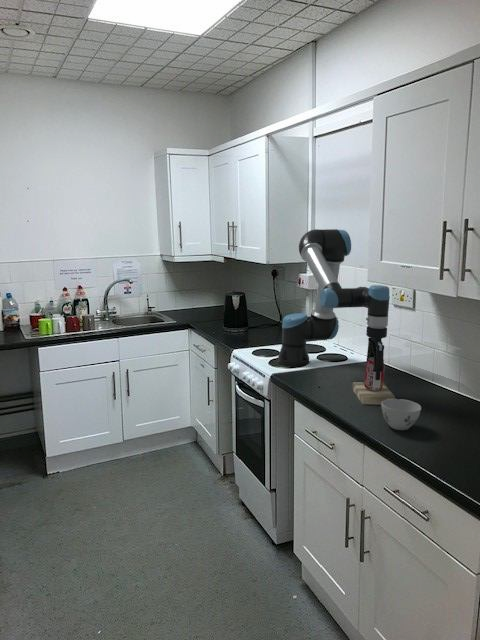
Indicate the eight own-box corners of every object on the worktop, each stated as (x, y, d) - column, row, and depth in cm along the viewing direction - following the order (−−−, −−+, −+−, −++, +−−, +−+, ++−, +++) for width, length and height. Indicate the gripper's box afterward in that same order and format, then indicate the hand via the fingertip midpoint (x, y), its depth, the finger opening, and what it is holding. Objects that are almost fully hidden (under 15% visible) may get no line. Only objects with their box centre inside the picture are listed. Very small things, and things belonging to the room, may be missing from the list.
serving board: (352, 389, 203) (352, 382, 203) (382, 389, 203) (382, 382, 203) (362, 404, 187) (362, 396, 186) (394, 404, 187) (395, 396, 186)
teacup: (427, 432, 161) (429, 409, 160) (393, 436, 158) (394, 412, 157) (401, 415, 176) (403, 394, 174) (369, 419, 173) (370, 396, 171)
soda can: (383, 392, 191) (386, 362, 188) (364, 390, 192) (367, 360, 189) (381, 387, 197) (384, 357, 195) (363, 385, 199) (366, 355, 196)
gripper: (360, 321, 200) (357, 375, 204) (374, 332, 180) (370, 392, 184) (379, 321, 200) (376, 376, 204) (395, 332, 180) (390, 392, 184)
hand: (373, 383), depth 194 cm, fingers open, 8 cm apart
